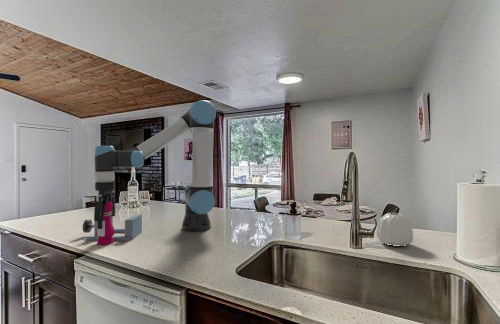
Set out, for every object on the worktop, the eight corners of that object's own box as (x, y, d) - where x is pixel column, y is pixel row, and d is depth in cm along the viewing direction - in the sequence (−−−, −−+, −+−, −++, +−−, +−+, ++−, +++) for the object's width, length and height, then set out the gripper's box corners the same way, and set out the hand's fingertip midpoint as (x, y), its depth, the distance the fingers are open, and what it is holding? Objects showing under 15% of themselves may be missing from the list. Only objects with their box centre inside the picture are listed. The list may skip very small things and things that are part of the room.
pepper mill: (106, 245, 116) (106, 198, 116) (92, 244, 118) (91, 198, 117) (118, 240, 123) (117, 196, 123) (104, 239, 125) (103, 195, 124)
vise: (142, 231, 139) (142, 213, 139) (131, 240, 124) (131, 220, 124) (102, 231, 138) (102, 214, 138) (86, 240, 123) (86, 220, 123)
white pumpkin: (370, 241, 123) (370, 211, 123) (393, 238, 128) (393, 209, 128) (396, 251, 110) (396, 218, 110) (420, 247, 115) (421, 215, 115)
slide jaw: (110, 232, 136) (110, 214, 136) (100, 238, 126) (100, 218, 126) (91, 232, 136) (91, 214, 136) (80, 238, 126) (80, 219, 126)
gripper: (107, 179, 130) (107, 227, 130) (83, 183, 110) (84, 240, 110) (123, 179, 130) (123, 227, 130) (102, 183, 110) (103, 240, 111)
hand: (105, 233), depth 120 cm, fingers closed on pepper mill, 7 cm apart
